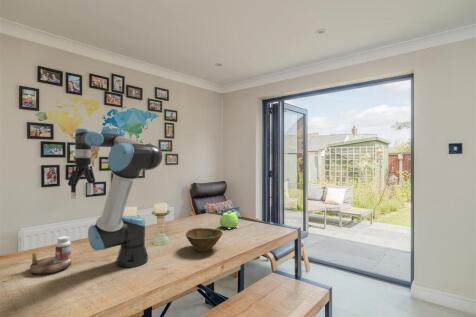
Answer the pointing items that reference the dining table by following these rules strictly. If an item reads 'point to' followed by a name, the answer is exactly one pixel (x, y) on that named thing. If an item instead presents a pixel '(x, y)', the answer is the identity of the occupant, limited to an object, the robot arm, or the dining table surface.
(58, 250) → the pill bottle
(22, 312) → the dining table surface
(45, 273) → the susan base
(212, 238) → the bowl
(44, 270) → the disc
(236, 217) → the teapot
